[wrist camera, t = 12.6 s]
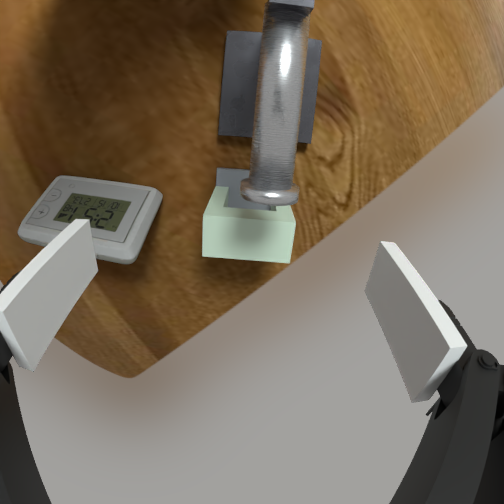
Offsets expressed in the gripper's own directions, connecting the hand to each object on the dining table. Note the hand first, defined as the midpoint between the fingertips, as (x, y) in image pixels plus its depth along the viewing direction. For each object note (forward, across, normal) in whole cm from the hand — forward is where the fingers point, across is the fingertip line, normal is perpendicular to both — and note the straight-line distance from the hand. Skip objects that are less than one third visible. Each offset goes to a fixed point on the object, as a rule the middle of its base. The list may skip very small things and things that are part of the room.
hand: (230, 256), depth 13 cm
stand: (+23, +2, +7) cm, 25 cm away
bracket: (+22, +1, -6) cm, 23 cm away
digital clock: (+23, -17, -6) cm, 30 cm away
